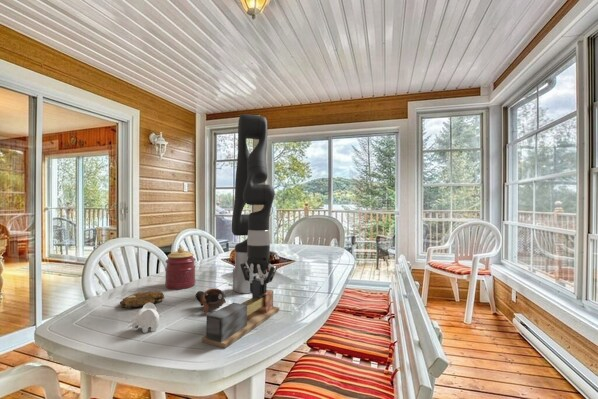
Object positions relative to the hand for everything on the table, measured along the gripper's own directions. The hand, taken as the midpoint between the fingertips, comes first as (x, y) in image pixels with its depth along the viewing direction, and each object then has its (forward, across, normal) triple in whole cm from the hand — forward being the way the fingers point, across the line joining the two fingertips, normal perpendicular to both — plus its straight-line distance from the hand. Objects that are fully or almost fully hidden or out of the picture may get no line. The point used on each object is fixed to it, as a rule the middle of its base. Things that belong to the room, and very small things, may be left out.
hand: (258, 293), depth 101 cm
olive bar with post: (+4, 0, -4) cm, 6 cm away
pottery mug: (+8, -20, -1) cm, 21 cm away
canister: (+8, -52, +16) cm, 55 cm away
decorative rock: (+8, -47, -8) cm, 48 cm away
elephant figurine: (+8, -25, -23) cm, 35 cm away
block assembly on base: (+8, 0, -7) cm, 10 cm away
